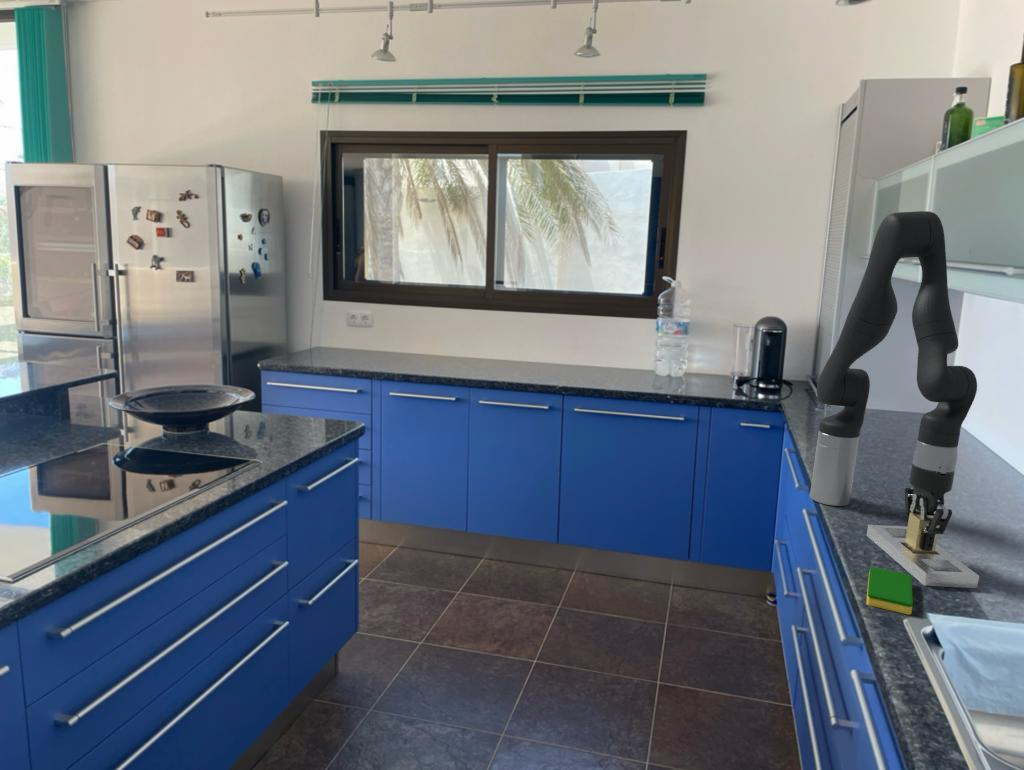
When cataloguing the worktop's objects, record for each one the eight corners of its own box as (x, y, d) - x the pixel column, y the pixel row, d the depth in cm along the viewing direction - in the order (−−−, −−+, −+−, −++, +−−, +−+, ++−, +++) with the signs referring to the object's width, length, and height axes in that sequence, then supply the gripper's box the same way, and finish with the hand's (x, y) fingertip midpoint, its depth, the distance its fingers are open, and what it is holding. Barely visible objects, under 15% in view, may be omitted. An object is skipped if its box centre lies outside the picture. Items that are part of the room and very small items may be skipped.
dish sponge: (865, 606, 135) (867, 594, 134) (868, 577, 147) (870, 565, 146) (910, 617, 132) (912, 604, 131) (909, 586, 144) (911, 574, 143)
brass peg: (904, 544, 157) (909, 512, 155) (923, 545, 157) (929, 513, 155) (914, 552, 153) (920, 519, 151) (934, 553, 153) (940, 520, 151)
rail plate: (866, 535, 167) (868, 524, 166) (911, 537, 167) (913, 527, 166) (924, 585, 143) (926, 573, 143) (977, 588, 143) (979, 575, 143)
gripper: (897, 453, 158) (884, 531, 161) (934, 475, 144) (919, 559, 148) (933, 455, 158) (919, 532, 161) (973, 477, 144) (958, 561, 148)
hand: (919, 545), depth 154 cm, fingers closed on brass peg, 4 cm apart
